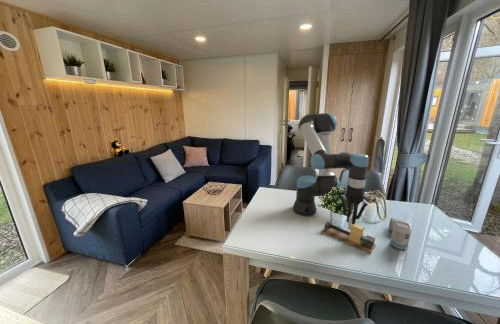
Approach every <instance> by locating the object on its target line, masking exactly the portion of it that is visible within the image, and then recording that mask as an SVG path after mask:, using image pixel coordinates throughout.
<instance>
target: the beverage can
mask: <svg viewBox="0 0 500 324" xmlns="http://www.w3.org/2000/svg"><path fill="white" fill-rule="evenodd" d="M411 234H412V229H411V225H410V224H409V225H408V224H406V223H404V222H396V224H394V226H393V231H392V232H391V237H390V244H391V246H393V247H394V248H395V249H398V250H406V249H407V248H408V246H409V244H410V243H409V242H410V237H411Z"/></svg>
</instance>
